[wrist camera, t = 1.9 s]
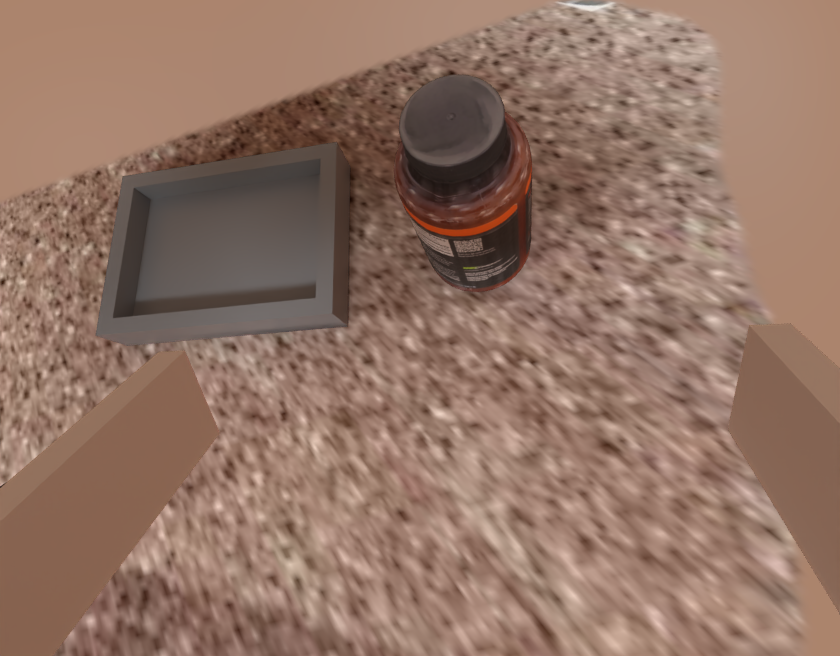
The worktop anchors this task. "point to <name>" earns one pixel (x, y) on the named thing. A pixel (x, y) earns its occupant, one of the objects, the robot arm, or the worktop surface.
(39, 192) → the worktop surface
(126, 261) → the tray
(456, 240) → the supplement bottle
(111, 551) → the robot arm
